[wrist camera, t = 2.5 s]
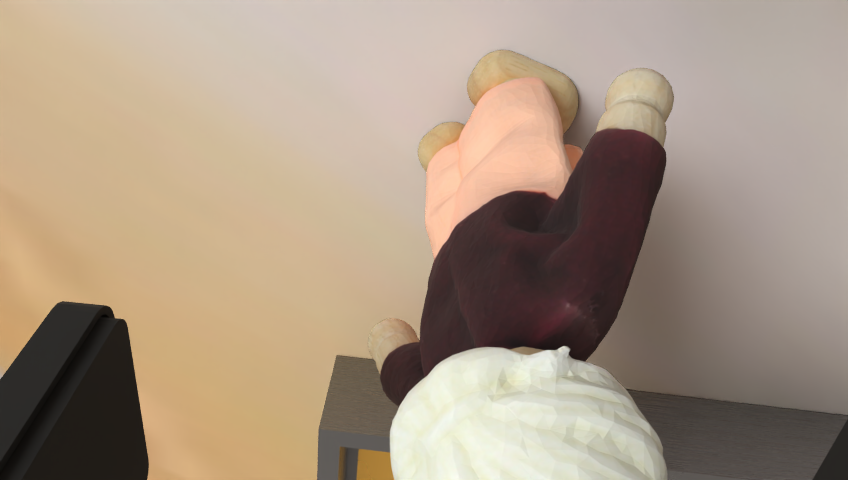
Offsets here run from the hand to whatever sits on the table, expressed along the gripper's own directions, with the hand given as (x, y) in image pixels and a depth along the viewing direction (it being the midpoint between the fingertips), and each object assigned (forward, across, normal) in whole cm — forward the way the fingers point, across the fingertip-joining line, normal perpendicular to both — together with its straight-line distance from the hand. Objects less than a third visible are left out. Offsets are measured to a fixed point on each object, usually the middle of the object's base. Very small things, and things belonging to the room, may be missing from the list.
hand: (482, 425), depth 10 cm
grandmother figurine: (+10, -1, 0) cm, 10 cm away
